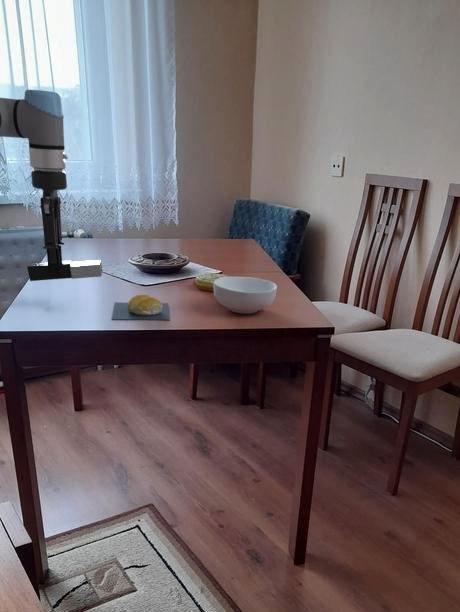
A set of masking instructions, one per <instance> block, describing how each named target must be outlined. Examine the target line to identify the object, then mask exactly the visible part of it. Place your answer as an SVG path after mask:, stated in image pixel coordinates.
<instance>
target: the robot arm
mask: <svg viewBox="0 0 460 612" xmlns="http://www.w3.org/2000/svg"><path fill="white" fill-rule="evenodd" d="M64 118H65V117H64V113H63V103H62V97H61V95H60V94H59V92H57V91H52V90H51V91H50V90H41V89H26V90H25V91H24V98H21V99H20V98H19V99H15V98H6V97H0V137H1V138H2V137H3V138H16V139H17V138H18V139H27V140H28V152H29V154H28V155H29V166H30V167H31V168H33V169H32V170H31V171H30V174H31V186H32V187H33V188H34V189H38V190H42V197H40V205H39V207H40V211H41V218H42V219H41V221H42V229H43V239H44V244H43V246H42V249H44V250H46V260H47V261H46V262H48V274H49V276H55V277H60V276H61V273H60V262H62V261H63V252H62V246H64V245H65V241H63V235H62V217H61V214H62V213H61V203H62V199H61V197H60V196H59V194H58V191H63V190H66V189H67V188H68V182H67V173H66V171H64V170H65V169H66V160H68V159H69V155H67V154H66V152H65V150H66V149H65V148H66V145H65V128H64V125H65V124H64Z"/></svg>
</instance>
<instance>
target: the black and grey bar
mask: <svg viewBox="0 0 460 612" xmlns="http://www.w3.org/2000/svg"><path fill="white" fill-rule="evenodd" d="M26 269H27V273H28V277H29V281H30V282H36V281H50V280H51V281H52V280H66V279H72V280H75V279H88V278H101V277H102V275H103V273H104V272H103V266H102V260H101V259H100V260H99V259H98V260H85V261H84V260H83V261H72V260H62V262H60V273H61V276H60V277H55V276H49V274H48V261H46V262H33V263H29V264H27V266H26Z"/></svg>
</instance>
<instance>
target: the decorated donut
mask: <svg viewBox="0 0 460 612" xmlns="http://www.w3.org/2000/svg"><path fill="white" fill-rule="evenodd" d="M222 277H229V276H228V275H227V274H222V273H214V272H204V273H200V274H197V275H196V276H195V278H194V279H195V280H194V281H195V285H196V286H197V288H198V289H200V290H202V291H209V292H214V281H215V280H216V279H218V278H222Z"/></svg>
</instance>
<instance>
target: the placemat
mask: <svg viewBox="0 0 460 612" xmlns="http://www.w3.org/2000/svg"><path fill="white" fill-rule="evenodd" d="M161 303H162V305H163V308H162V310H161V312H160V313H159V314H156V315H149V316H141V315H137V314H135V313H132V312H130V311H129V310H128V302H122V301H121V302H116V301H115V302H114V306H113V311H112V317H111V321H171V315H170V307H169V303H168V302H161Z"/></svg>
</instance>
